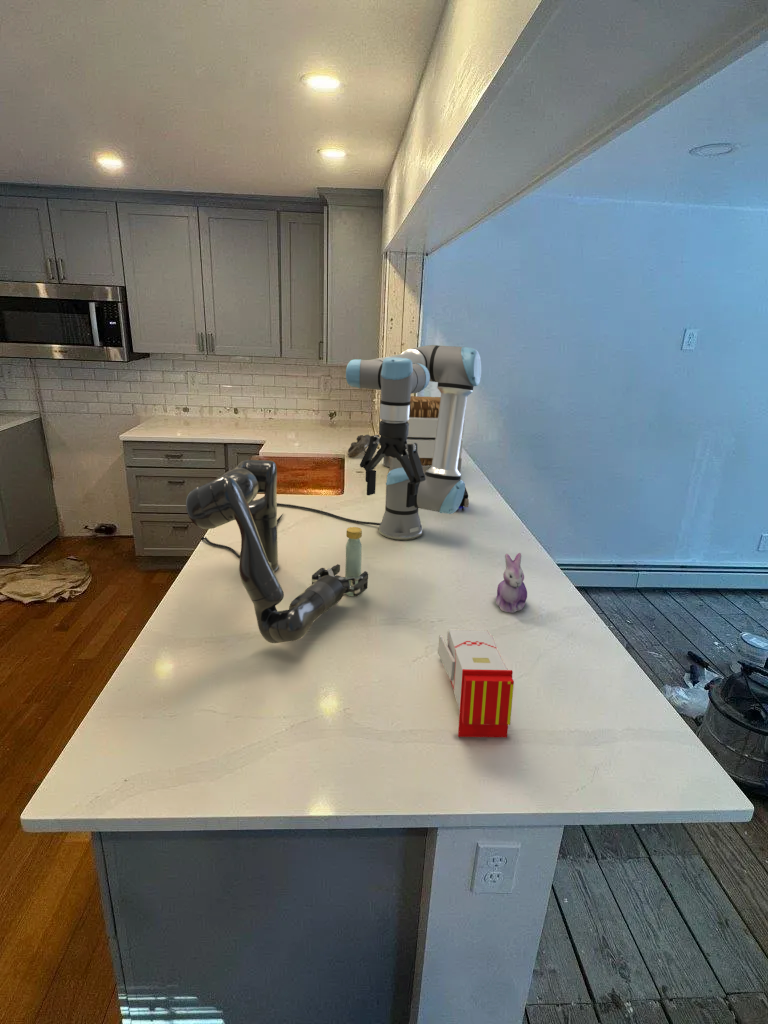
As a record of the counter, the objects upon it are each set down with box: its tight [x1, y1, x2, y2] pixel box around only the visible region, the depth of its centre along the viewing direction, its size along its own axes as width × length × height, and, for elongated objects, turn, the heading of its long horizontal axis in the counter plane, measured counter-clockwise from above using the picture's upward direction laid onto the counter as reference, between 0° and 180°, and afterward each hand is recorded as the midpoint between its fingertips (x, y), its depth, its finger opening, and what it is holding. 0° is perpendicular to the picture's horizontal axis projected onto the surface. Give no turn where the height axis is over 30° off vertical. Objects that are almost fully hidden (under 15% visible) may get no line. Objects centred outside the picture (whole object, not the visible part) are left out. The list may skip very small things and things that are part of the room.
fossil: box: [347, 434, 372, 459], centre depth 304 cm, size 22×10×15 cm
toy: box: [437, 628, 515, 738], centre depth 117 cm, size 12×13×30 cm
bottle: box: [344, 538, 363, 597], centre depth 154 cm, size 4×4×18 cm
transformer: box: [383, 395, 465, 475], centre depth 268 cm, size 34×33×41 cm
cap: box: [346, 526, 363, 539], centre depth 151 cm, size 4×4×2 cm
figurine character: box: [458, 486, 470, 512], centre depth 229 cm, size 7×8×15 cm
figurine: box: [495, 552, 528, 614], centre depth 152 cm, size 9×10×15 cm
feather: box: [277, 513, 284, 525], centre depth 210 cm, size 2×28×2 cm
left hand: (352, 571), depth 155 cm, fingers open, 8 cm apart
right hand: (390, 500), depth 151 cm, fingers open, 13 cm apart
